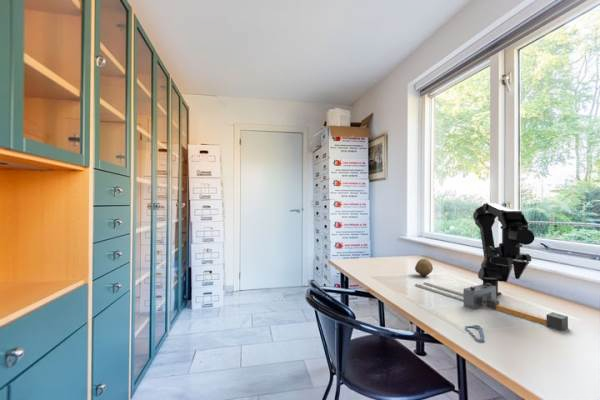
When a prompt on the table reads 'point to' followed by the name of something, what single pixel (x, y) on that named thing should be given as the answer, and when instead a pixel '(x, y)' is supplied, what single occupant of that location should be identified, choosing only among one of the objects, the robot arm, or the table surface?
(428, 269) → the natural sponge
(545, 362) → the table surface
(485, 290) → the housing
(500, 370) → the table surface
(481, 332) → the grey curved loop
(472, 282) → the table surface
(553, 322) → the grey-capped orange bar
